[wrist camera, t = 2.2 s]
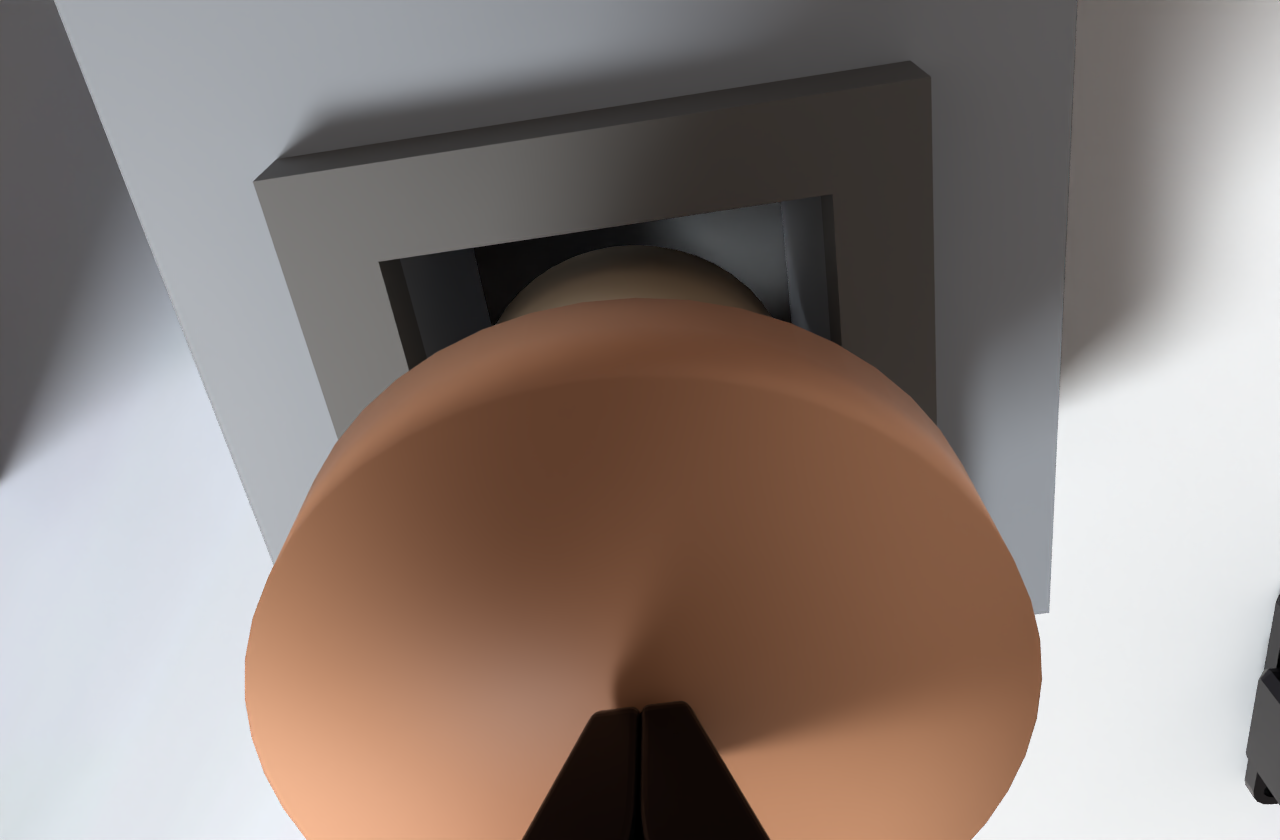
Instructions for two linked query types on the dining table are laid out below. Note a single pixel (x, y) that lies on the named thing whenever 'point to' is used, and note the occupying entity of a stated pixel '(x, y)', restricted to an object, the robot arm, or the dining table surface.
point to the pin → (642, 576)
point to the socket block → (596, 191)
